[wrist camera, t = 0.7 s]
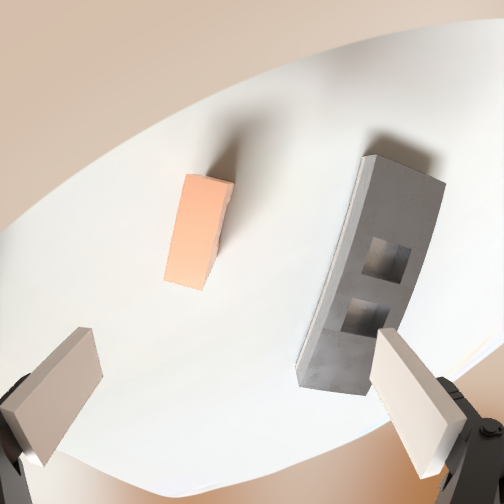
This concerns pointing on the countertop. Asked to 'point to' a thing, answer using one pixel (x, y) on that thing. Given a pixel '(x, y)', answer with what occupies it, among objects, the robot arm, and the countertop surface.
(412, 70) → the countertop surface
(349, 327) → the rail
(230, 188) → the tall peach block
